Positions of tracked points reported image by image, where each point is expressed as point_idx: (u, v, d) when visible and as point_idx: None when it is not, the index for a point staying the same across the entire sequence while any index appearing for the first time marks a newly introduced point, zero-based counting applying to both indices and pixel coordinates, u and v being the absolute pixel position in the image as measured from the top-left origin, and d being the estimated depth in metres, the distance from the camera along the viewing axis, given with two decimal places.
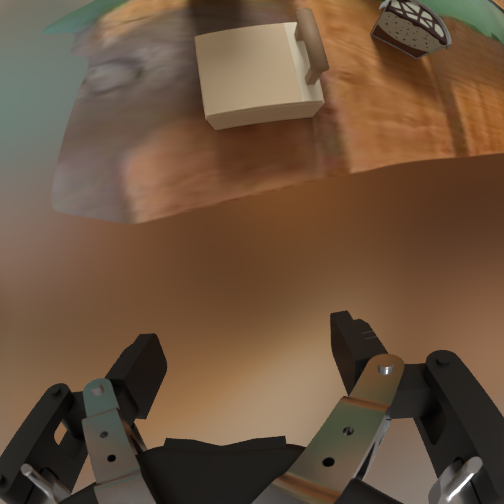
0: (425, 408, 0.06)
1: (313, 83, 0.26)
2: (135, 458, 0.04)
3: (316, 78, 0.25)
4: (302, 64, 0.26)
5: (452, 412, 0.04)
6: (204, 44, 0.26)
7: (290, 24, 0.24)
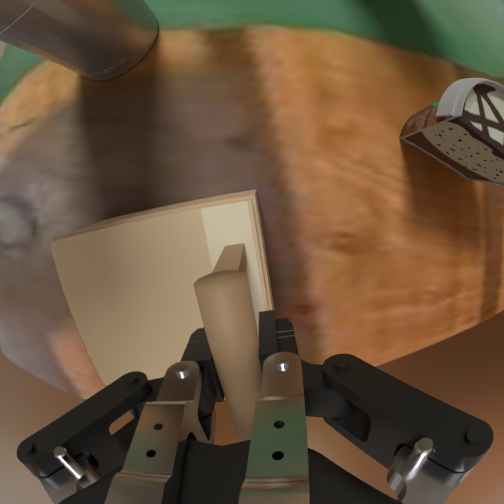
0: (338, 412, 0.07)
1: None
2: (135, 458, 0.04)
3: None
4: None
5: (374, 409, 0.06)
6: (66, 266, 0.15)
7: (217, 212, 0.14)
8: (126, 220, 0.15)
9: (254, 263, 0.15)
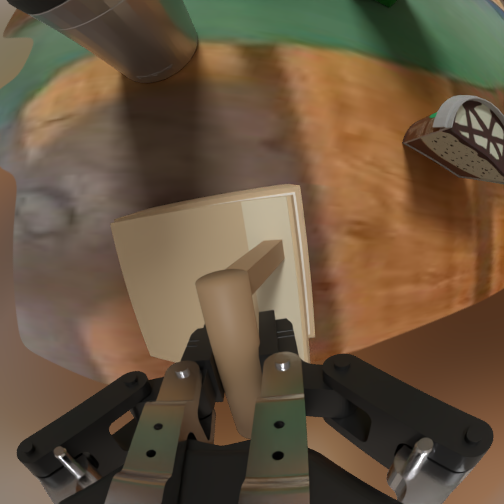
0: (338, 412, 0.07)
1: None
2: (135, 458, 0.04)
3: None
4: (277, 317, 0.15)
5: (374, 409, 0.06)
6: (123, 245, 0.18)
7: (256, 206, 0.14)
8: (192, 203, 0.19)
9: (291, 261, 0.14)
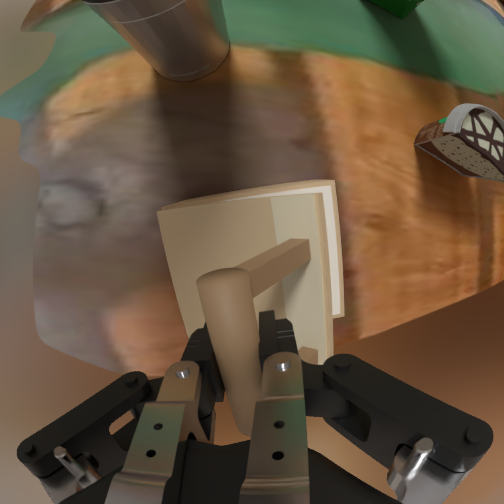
0: (338, 412, 0.07)
1: None
2: (135, 458, 0.04)
3: None
4: (302, 317, 0.15)
5: (374, 409, 0.06)
6: (167, 233, 0.20)
7: (284, 202, 0.13)
8: (239, 193, 0.21)
9: (318, 262, 0.13)
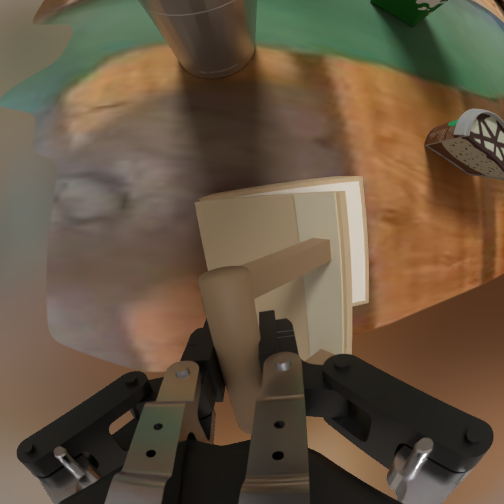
0: (339, 412, 0.07)
1: None
2: (135, 458, 0.04)
3: None
4: (322, 320, 0.14)
5: (374, 409, 0.06)
6: (204, 223, 0.21)
7: (307, 200, 0.12)
8: (277, 186, 0.22)
9: (338, 265, 0.12)
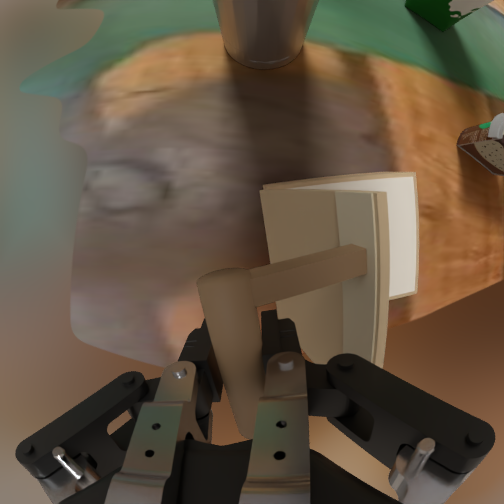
0: (342, 411, 0.07)
1: None
2: (135, 458, 0.04)
3: None
4: (356, 337, 0.12)
5: (377, 409, 0.06)
6: (267, 213, 0.21)
7: (346, 200, 0.10)
8: (341, 178, 0.21)
9: (374, 280, 0.10)
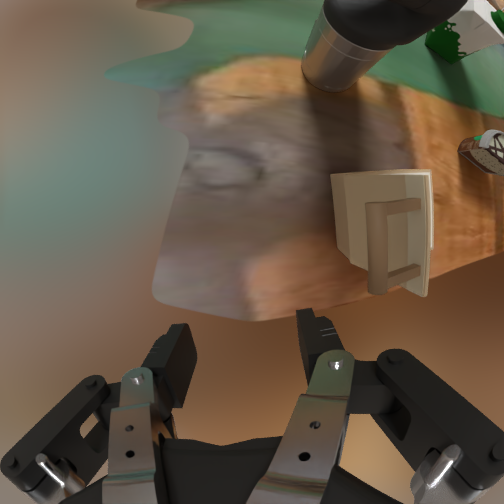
0: (384, 407, 0.07)
1: None
2: (135, 458, 0.04)
3: None
4: (415, 244, 0.23)
5: (415, 407, 0.05)
6: (349, 189, 0.32)
7: (411, 178, 0.21)
8: (389, 171, 0.32)
9: (424, 211, 0.21)
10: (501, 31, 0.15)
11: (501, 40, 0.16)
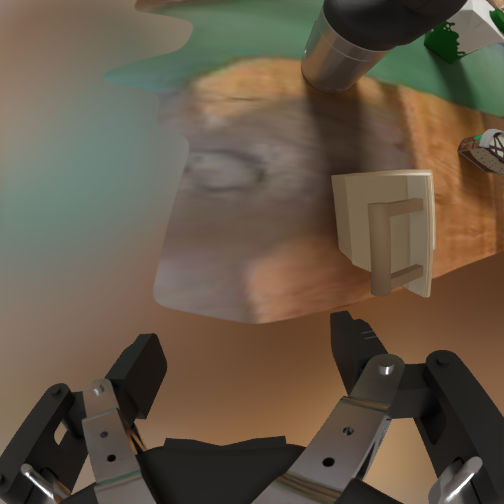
0: (425, 408, 0.06)
1: None
2: (135, 458, 0.04)
3: None
4: (418, 245, 0.23)
5: (452, 412, 0.04)
6: (350, 190, 0.32)
7: (412, 178, 0.21)
8: (390, 172, 0.32)
9: (426, 212, 0.21)
10: (500, 30, 0.15)
11: (500, 39, 0.16)
